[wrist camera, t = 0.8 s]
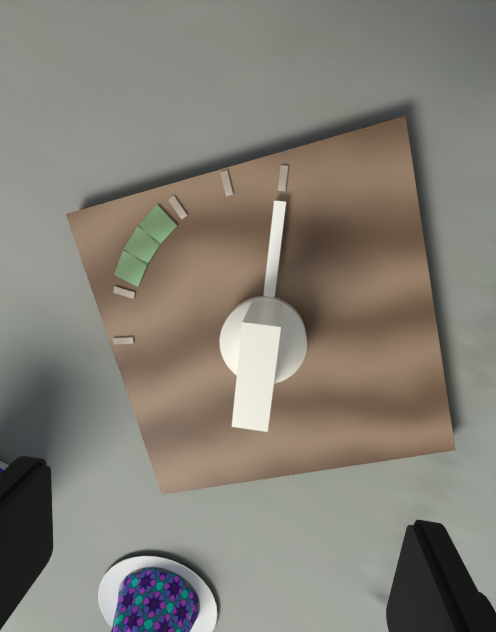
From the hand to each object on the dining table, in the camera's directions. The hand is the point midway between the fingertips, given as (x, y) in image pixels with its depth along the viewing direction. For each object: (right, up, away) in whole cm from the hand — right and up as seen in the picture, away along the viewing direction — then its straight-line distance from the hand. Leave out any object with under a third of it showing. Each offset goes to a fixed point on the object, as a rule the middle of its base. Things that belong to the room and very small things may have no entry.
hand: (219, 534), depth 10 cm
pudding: (-8, -23, +28) cm, 37 cm away
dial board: (+2, +5, +20) cm, 20 cm away
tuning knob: (+2, +7, +17) cm, 19 cm away
